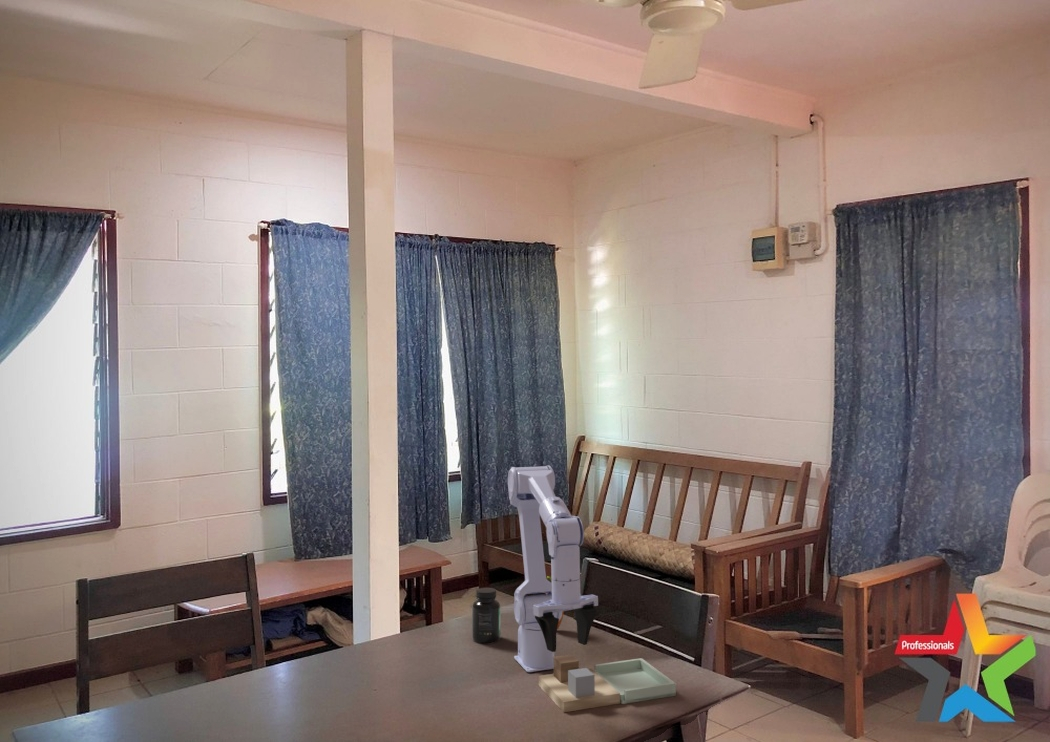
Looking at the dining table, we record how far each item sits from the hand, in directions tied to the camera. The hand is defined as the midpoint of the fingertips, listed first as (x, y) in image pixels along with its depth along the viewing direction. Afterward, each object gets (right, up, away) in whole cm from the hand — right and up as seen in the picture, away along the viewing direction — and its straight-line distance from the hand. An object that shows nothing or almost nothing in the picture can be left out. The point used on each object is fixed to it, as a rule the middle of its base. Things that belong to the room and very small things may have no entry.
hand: (567, 647), depth 168 cm
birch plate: (+2, -11, +4) cm, 12 cm away
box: (+14, -11, +8) cm, 19 cm away
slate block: (+3, -9, 0) cm, 9 cm away
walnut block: (0, -9, +7) cm, 11 cm away
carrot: (-1, -10, +43) cm, 44 cm away
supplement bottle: (-18, -10, +37) cm, 42 cm away
